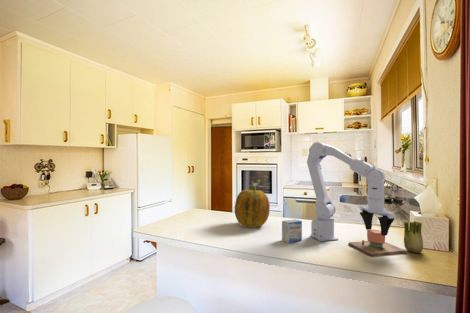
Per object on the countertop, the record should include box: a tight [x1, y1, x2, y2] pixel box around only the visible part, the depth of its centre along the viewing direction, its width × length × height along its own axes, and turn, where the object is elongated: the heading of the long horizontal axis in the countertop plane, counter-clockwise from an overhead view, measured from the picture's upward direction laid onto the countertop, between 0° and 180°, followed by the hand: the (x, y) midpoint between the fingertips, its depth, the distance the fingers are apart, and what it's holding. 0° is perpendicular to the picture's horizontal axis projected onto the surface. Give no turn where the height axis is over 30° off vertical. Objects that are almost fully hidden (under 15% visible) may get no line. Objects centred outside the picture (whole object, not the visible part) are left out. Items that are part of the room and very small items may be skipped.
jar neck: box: [369, 242, 383, 248], centre depth 92 cm, size 5×5×2 cm
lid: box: [366, 228, 386, 244], centre depth 92 cm, size 6×6×4 cm
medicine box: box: [281, 218, 303, 244], centre depth 101 cm, size 8×4×9 cm, turn 117°
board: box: [348, 239, 407, 257], centre depth 92 cm, size 16×12×2 cm
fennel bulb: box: [403, 220, 424, 254], centre depth 90 cm, size 6×5×12 cm
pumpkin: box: [234, 178, 271, 228], centre depth 122 cm, size 19×19×25 cm
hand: (376, 232), depth 92 cm, fingers open, 7 cm apart
